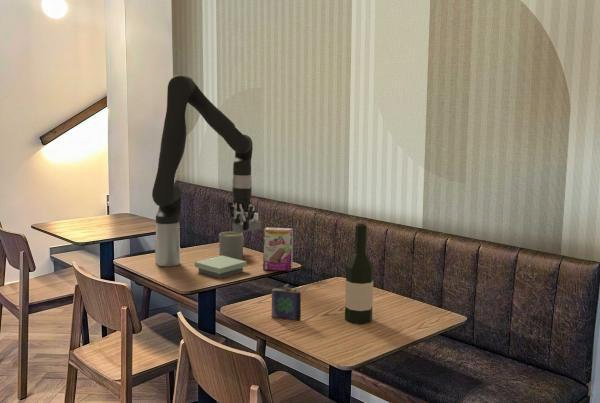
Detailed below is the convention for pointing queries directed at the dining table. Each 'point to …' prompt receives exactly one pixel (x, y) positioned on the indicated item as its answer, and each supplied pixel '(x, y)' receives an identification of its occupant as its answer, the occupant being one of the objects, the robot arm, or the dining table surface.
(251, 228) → the grey white knobbed block
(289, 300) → the flask
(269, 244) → the candy bar box
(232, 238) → the coffee mug
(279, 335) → the dining table surface
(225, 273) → the green lidded box
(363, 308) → the wine bottle
